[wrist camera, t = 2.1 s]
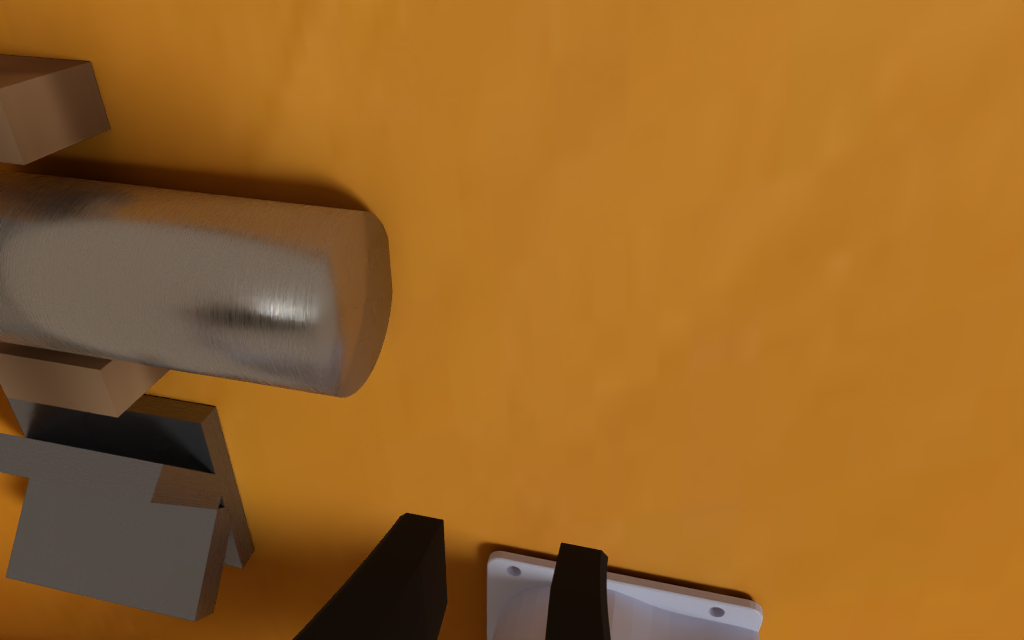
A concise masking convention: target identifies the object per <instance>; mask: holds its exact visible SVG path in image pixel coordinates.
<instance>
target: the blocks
mask: <svg viewBox="0 0 1024 640" xmlns="http://www.w3.org/2000/svg"><path fill="white" fill-rule="evenodd" d="M109 129H110V126H109V123H108V119H107V116H106V113H105V109H104V106H103V102H102V99H101V96H100V92H99V89H98V85H97V82H96V78H95V75H94V72H93V68H92V65H91V62H87V61H75V60H62V59H50V58H37V57H25V56H12V55H0V162H1V163H10V164H19V165H26V164H28V163H31V162H33V161H35V160H38V159H40V158H43V157H45V156H47V155H50V154H52V153H54V152H57V151H59V150H62V149H64V148H66V147H69V146H71V145H74V144H76V143H78V142H81V141H83V140H85V139H88V138H90V137H93V136H95V135H97V134H100V133H102V132H104V131H107V130H109ZM169 370H170V369H165V368H159V367H152V366H146V365H140V364H134V363H128V362H122V361H116V360H110V359H104V358H98V357H92V356H86V355H80V354H74V353H67V352H61V351H55V350H49V349H43V348H37V347H31V346H25V345H19V344H13V343H7V342H1V341H0V384H1V386H2V389H3V391H4V393H5V395H6V397H7V398H13V399H18V400H24V401H29V402H35V403H40V404H46V405H51V406H57V407H62V408H68V409H73V410H79V411H84V412H90V413H95V414H101V415H106V416H112V417H117V418H118V417H119V416H120V415H121V414H122V413H123V412H124V411H126V410H127V409H128V408H129V407H130V406H131V405H132V404H133V403H134V402H135V401H136V400H137V399H139V398H140V397H141V396H142V395H143V394H144V393H145V392H146V391H147V390H148V389H149V388H150V387H151V386H153V385H154V384H155V383H156V382H157V381H158V380H159V379H160V378H161V377H162V376H163V375H164V374H166V373H167V372H168V371H169Z"/></svg>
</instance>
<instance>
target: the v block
mask: <svg viewBox="0 0 1024 640" xmlns="http://www.w3.org/2000/svg"><path fill="white" fill-rule="evenodd" d="M7 399H8V401H9V403H10V405H11V408H12V410H13V412H14V414H15V416H16V418H17V420H18V422H19V424H20V427H21V429H22V431H23V433H24V435H25V437H26V438H24V437H19V436H13V435H8V434H3V433H0V472H3V473H7V474H12V475H17V476H22V477H27V478H29V482H28V486H27V490H26V494H25V498H24V503H23V507H22V511H21V515H20V519H19V524H18V528H17V532H16V536H15V540H14V545H13V549H12V553H11V557H10V561H9V566H8V570H7V574H6V578H10V579H15V580H19V581H23V582H27V583H32V584H36V585H40V586H44V587H49V588H53V589H57V590H61V591H66V592H70V593H74V594H79V595H83V596H87V597H91V598H96V599H100V600H104V601H108V602H113V603H117V604H121V605H125V606H130V607H134V608H138V609H142V610H147V611H151V612H155V613H160V614H164V615H168V616H172V617H177V618H181V619H185V620H189V621H194V622H195V621H197V620H199V619H201V618H203V617H206V616H208V615H210V614H212V613H214V609H215V604H216V599H217V594H218V589H219V584H220V579H221V574H222V569H223V564H224V565H229V566H233V567H238V568H242V569H243V567H244V566H245V564H246V563H247V561H248V560H249V558H250V557H251V555H252V554H253V552H254V547H253V544H252V540H251V536H250V532H249V529H248V525H247V521H246V518H245V514H244V510H243V506H242V503H241V499H240V495H239V491H238V488H237V484H236V480H235V477H234V473H233V469H232V465H231V462H230V458H229V454H228V451H227V447H226V443H225V439H224V436H223V432H222V428H221V425H220V421H219V417H218V413H217V410H216V407H212V406H206V405H200V404H195V403H189V402H183V401H177V400H172V399H166V398H160V397H154V396H148V395H142V396H141V397H140V398H139V399H137V400H136V401H135V402H134V403H133V404H132V405H131V406H130V407H129V408H128V409H127V410H126V411H124V412H123V413H122V414H121V415H120V416H119V417H118V418H117V417H112V416H106V415H101V414H95V413H90V412H84V411H79V410H73V409H68V408H62V407H57V406H51V405H46V404H40V403H35V402H29V401H24V400H18V399H13V398H7Z"/></svg>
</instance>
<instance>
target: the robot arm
mask: <svg viewBox="0 0 1024 640" xmlns="http://www.w3.org/2000/svg"><path fill="white" fill-rule="evenodd" d="M607 562H608V557H607V556H606V554H605V553H604V552H603V551H602V550H597V549H592V548H587V547H582V546H576V545H571V544H566V543H561V545H560V550H559V554H558V558H557V562H555V561H550V560H545V559H540V558H535V557H530V556H525V555H520V554H515V553H510V552H505V551H495V552H493V553H491V554H490V556H489V559H488V563H487V640H759V629H760V626H761V624H762V621H763V615H762V608H761V606H760V605H759V604H757V603H756V602H754V601H751V600H747V599H742V598H737V597H732V596H727V595H722V594H717V593H712V592H707V591H702V590H697V589H692V588H687V587H682V586H677V585H672V584H667V583H662V582H656V581H651V580H646V579H641V578H636V577H631V576H626V575H621V574H616V573H611V572H607ZM446 605H447V585H446V564H445V543H444V522H443V520H442V519H436V518H431V517H426V516H421V515H416V514H410V513H405V514H404V515H402V516H400V517H399V519H398V520H397V521H396V523H395V524H394V525H393V526H392V528H391V529H390V530H389V531H388V533H387V534H386V535H385V536H384V538H383V539H382V540H381V541H380V543H379V544H378V545H377V546H376V547H375V549H374V550H373V551H372V552H371V553H370V555H369V556H368V557H367V558H366V559H365V561H364V562H363V563H362V564H361V565H360V566H359V568H358V569H357V570H356V571H355V572H354V573H353V575H352V576H351V577H350V578H349V579H348V580H347V581H346V583H345V584H344V585H343V586H342V587H341V588H340V589H339V590H338V591H337V593H336V594H335V595H334V596H333V597H332V598H331V599H330V600H329V601H328V602H327V603H326V604H325V606H324V607H323V608H322V609H321V610H320V611H319V612H318V613H317V614H316V615H315V616H314V618H313V619H312V620H311V621H310V622H309V623H308V624H307V625H306V626H305V627H304V628H303V629H302V630H301V631H300V632H299V633H298V634H297V635H296V636H295V637H294V638H293V639H292V640H437V638H438V635H439V631H440V627H441V624H442V620H443V616H444V613H445V609H446Z"/></svg>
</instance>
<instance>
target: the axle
mask: <svg viewBox="0 0 1024 640" xmlns="http://www.w3.org/2000/svg"><path fill="white" fill-rule="evenodd" d="M391 302H392V279H391V267H390V255H389V243H388V237H387V234H386V231H385V229H384V226H383V225H382V223H381V221H380V220H379V219H378V218H377V217H376V216H375V215H374V214H372V213H370V212H366V211H358V210H349V209H340V208H331V207H322V206H314V205H305V204H296V203H287V202H279V201H270V200H261V199H252V198H244V197H235V196H226V195H217V194H208V193H200V192H191V191H182V190H173V189H165V188H156V187H147V186H138V185H129V184H121V183H112V182H103V181H94V180H86V179H77V178H68V177H59V176H50V175H42V174H33V173H24V172H15V171H7V170H0V341H1V342H7V343H13V344H19V345H25V346H31V347H37V348H43V349H49V350H55V351H61V352H67V353H74V354H80V355H86V356H92V357H98V358H104V359H110V360H116V361H122V362H128V363H134V364H140V365H146V366H152V367H159V368H165V369H171V370H177V371H183V372H189V373H195V374H201V375H207V376H213V377H219V378H225V379H231V380H237V381H243V382H250V383H256V384H262V385H268V386H274V387H280V388H286V389H292V390H298V391H304V392H310V393H316V394H322V395H328V396H335V397H348V396H351V395H352V394H354V393H356V392H357V391H358V390H359V389H360V388H361V387H362V386H363V384H364V383H365V382H366V380H367V379H368V377H369V376H370V374H371V372H372V370H373V368H374V366H375V364H376V362H377V359H378V357H379V354H380V352H381V349H382V345H383V342H384V339H385V335H386V331H387V327H388V322H389V316H390V310H391Z"/></svg>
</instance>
